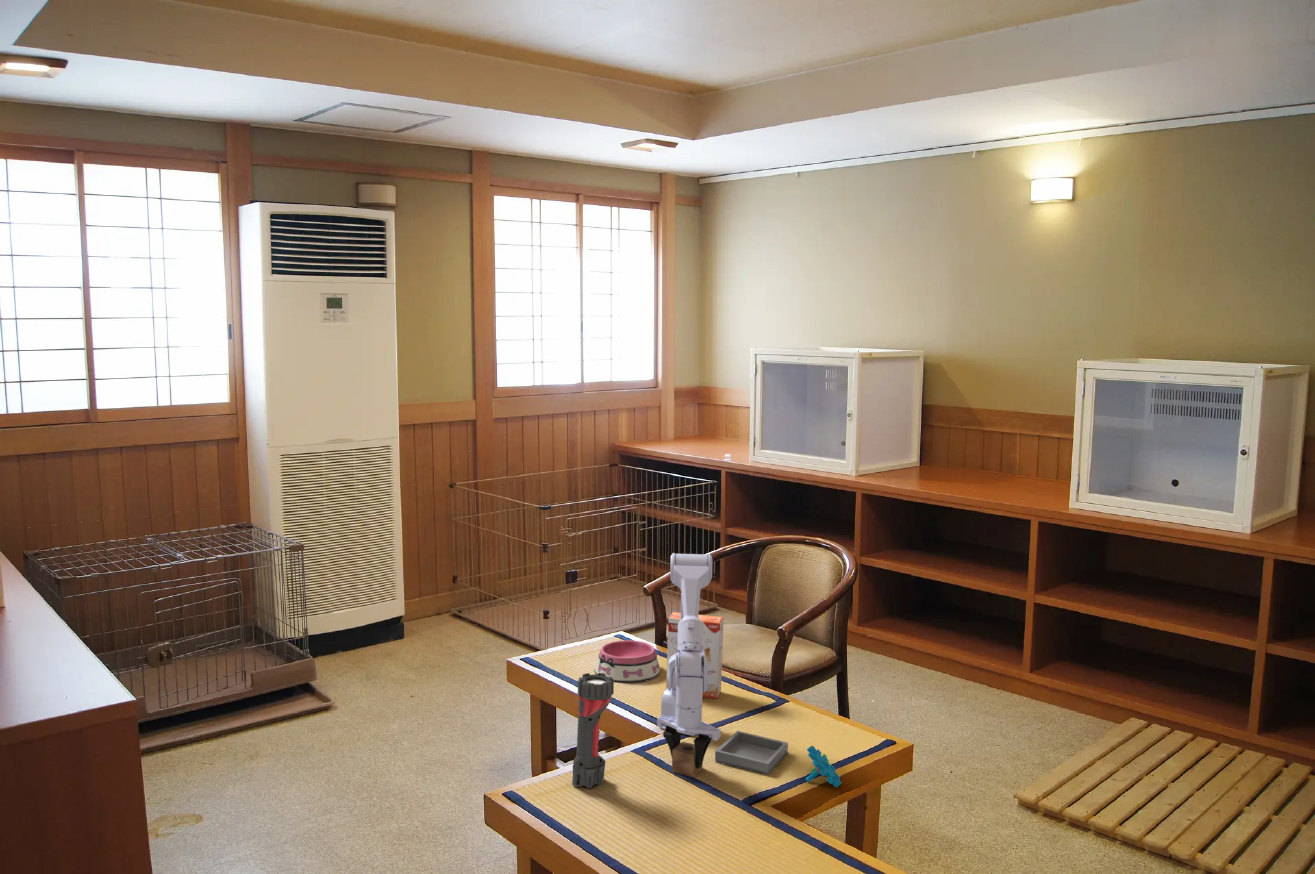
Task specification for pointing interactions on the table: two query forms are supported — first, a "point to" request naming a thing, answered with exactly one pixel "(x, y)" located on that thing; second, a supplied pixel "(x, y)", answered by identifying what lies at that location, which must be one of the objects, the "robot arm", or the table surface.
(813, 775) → the gear
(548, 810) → the table surface
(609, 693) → the flashlight
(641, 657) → the dog bowl
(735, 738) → the tray
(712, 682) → the cracker box
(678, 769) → the walnut block
